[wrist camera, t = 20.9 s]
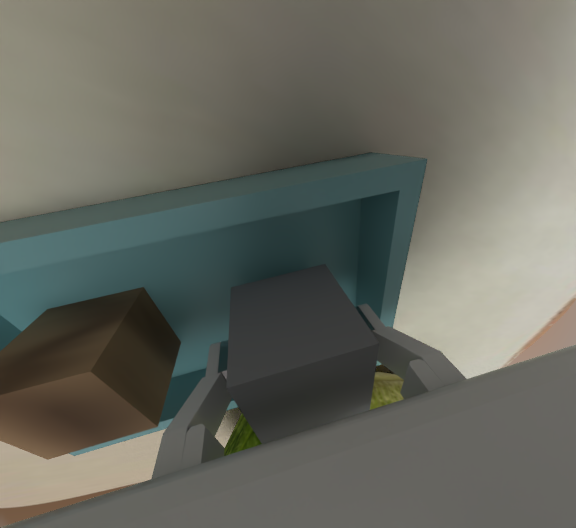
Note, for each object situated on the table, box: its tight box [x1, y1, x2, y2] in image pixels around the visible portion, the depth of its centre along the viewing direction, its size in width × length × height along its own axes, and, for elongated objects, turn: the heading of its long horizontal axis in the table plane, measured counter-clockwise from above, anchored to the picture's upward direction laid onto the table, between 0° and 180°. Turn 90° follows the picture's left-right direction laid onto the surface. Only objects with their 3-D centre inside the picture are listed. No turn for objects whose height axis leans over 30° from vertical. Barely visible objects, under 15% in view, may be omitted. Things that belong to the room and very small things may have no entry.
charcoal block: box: [226, 264, 380, 444], centre depth 10 cm, size 5×5×5 cm
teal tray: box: [0, 153, 427, 456], centre depth 12 cm, size 22×14×4 cm, turn 99°
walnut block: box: [0, 287, 181, 459], centre depth 11 cm, size 5×5×5 cm
